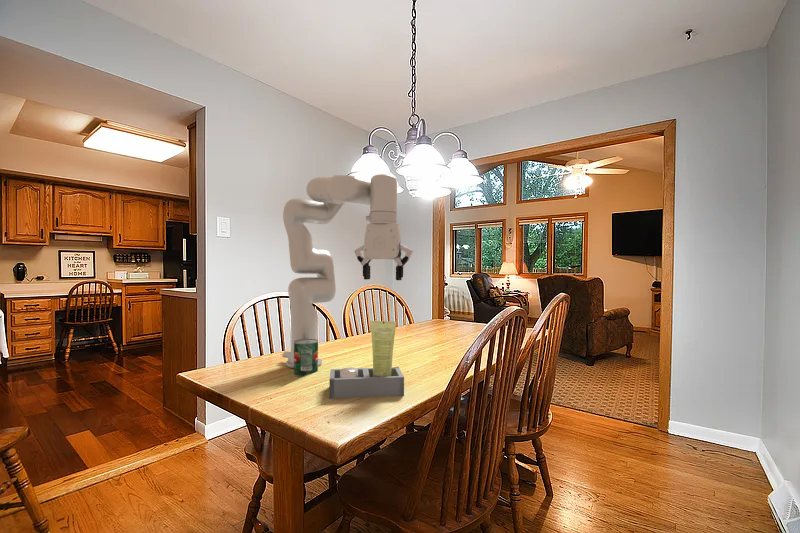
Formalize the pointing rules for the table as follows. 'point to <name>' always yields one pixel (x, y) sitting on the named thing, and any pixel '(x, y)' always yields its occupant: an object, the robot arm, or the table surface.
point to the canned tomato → (305, 357)
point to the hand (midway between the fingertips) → (382, 279)
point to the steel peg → (349, 373)
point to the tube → (382, 346)
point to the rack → (366, 384)
